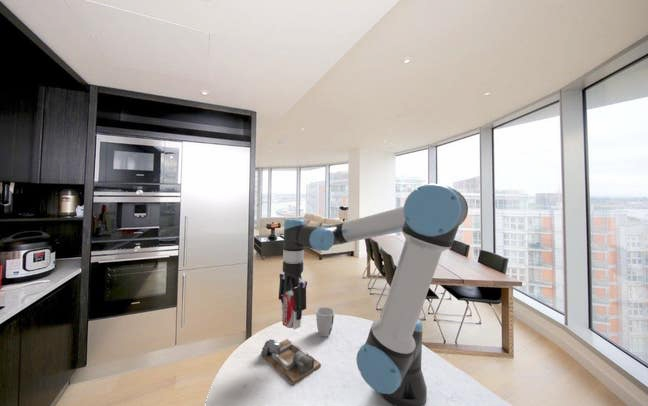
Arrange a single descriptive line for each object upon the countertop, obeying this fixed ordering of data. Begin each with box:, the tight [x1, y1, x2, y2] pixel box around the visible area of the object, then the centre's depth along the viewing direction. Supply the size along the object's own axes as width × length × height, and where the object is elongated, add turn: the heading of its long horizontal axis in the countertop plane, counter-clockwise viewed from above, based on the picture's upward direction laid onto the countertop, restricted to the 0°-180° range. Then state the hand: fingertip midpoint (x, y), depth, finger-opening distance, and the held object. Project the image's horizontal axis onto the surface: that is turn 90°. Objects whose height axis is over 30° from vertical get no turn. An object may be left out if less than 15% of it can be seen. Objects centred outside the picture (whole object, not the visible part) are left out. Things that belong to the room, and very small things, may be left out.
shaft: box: [261, 339, 282, 358], centre depth 86 cm, size 6×6×4 cm
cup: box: [315, 306, 335, 338], centre depth 103 cm, size 8×8×10 cm
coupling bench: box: [260, 338, 322, 386], centre depth 84 cm, size 20×12×5 cm, turn 45°
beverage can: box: [282, 290, 299, 329], centre depth 85 cm, size 6×6×12 cm
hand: (290, 323), depth 84 cm, fingers closed on beverage can, 6 cm apart
